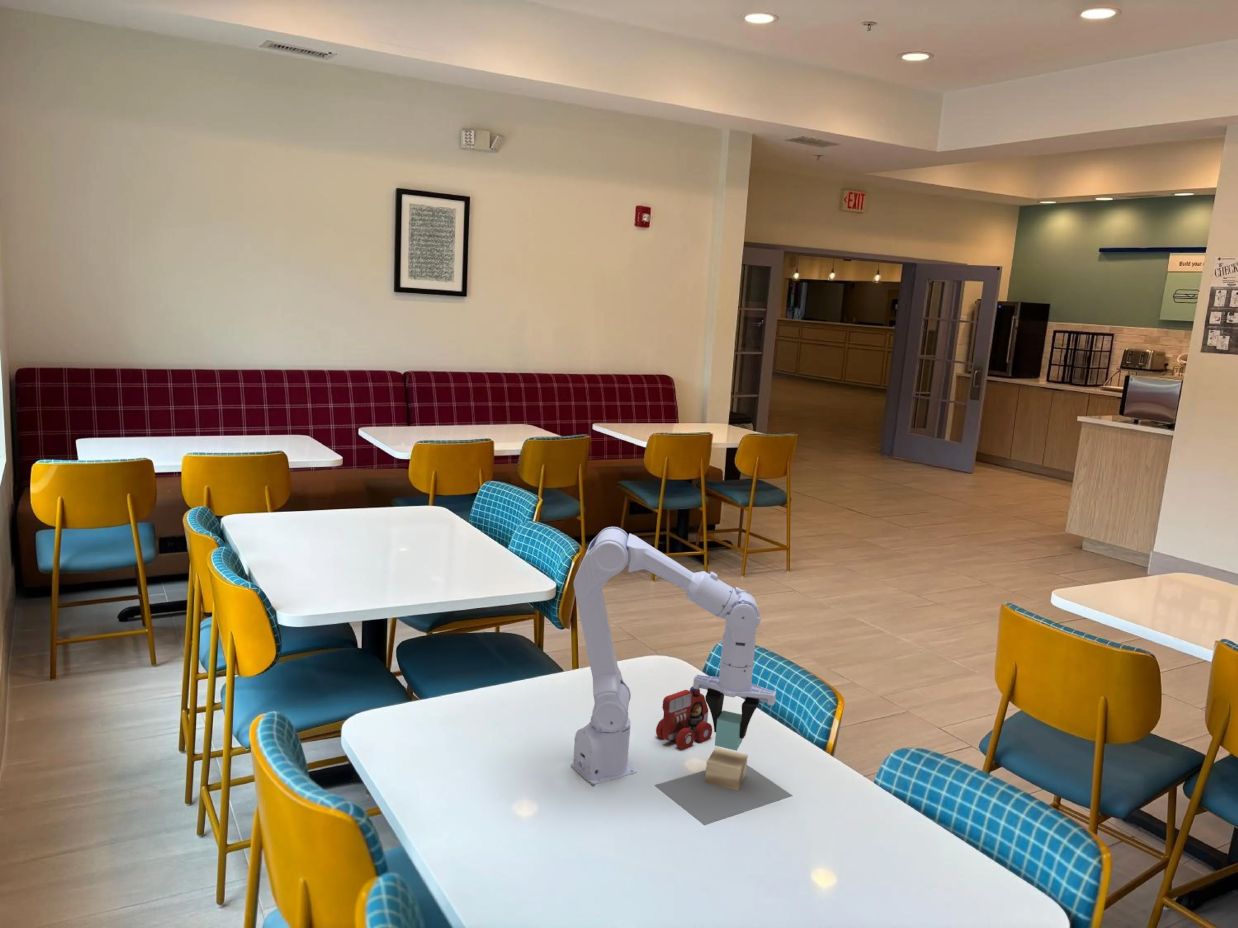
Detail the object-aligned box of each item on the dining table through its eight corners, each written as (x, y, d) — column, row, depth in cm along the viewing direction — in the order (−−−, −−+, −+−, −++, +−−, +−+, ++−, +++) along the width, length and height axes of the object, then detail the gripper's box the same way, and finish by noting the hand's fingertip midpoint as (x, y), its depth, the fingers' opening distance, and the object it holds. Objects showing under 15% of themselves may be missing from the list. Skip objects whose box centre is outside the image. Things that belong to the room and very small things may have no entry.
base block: (737, 790, 164) (739, 769, 164) (704, 781, 166) (706, 761, 166) (745, 774, 170) (747, 754, 169) (713, 767, 172) (715, 746, 171)
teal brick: (736, 750, 164) (739, 724, 163) (714, 745, 165) (717, 719, 164) (742, 741, 168) (744, 715, 167) (720, 735, 169) (723, 710, 168)
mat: (704, 827, 153) (704, 824, 153) (653, 787, 164) (654, 784, 164) (792, 797, 164) (792, 795, 164) (739, 761, 175) (740, 759, 175)
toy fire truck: (718, 737, 185) (722, 688, 183) (674, 755, 176) (679, 704, 174) (692, 724, 190) (696, 676, 188) (648, 741, 181) (653, 691, 179)
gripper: (690, 660, 163) (684, 732, 165) (773, 677, 158) (765, 752, 160) (702, 647, 169) (695, 717, 172) (781, 663, 164) (773, 735, 167)
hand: (729, 733), depth 167 cm, fingers closed on teal brick, 4 cm apart
